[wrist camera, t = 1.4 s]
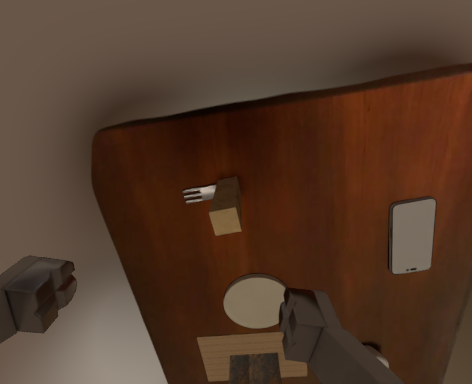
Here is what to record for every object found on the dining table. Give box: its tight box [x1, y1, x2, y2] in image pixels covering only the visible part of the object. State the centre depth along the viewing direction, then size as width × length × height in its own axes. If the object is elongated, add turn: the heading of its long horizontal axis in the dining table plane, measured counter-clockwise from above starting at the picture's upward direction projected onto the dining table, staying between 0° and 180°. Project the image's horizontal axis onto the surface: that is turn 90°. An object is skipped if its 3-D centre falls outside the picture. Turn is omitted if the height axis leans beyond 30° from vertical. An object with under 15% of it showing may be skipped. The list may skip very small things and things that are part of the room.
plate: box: [224, 274, 286, 328], centre depth 49 cm, size 14×14×1 cm
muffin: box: [365, 345, 389, 368], centre depth 51 cm, size 6×6×7 cm
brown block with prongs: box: [182, 176, 242, 235], centre depth 35 cm, size 10×3×12 cm, turn 102°
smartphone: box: [389, 197, 437, 275], centre depth 43 cm, size 7×1×15 cm
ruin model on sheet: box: [197, 332, 307, 384], centre depth 52 cm, size 25×16×10 cm, turn 97°
